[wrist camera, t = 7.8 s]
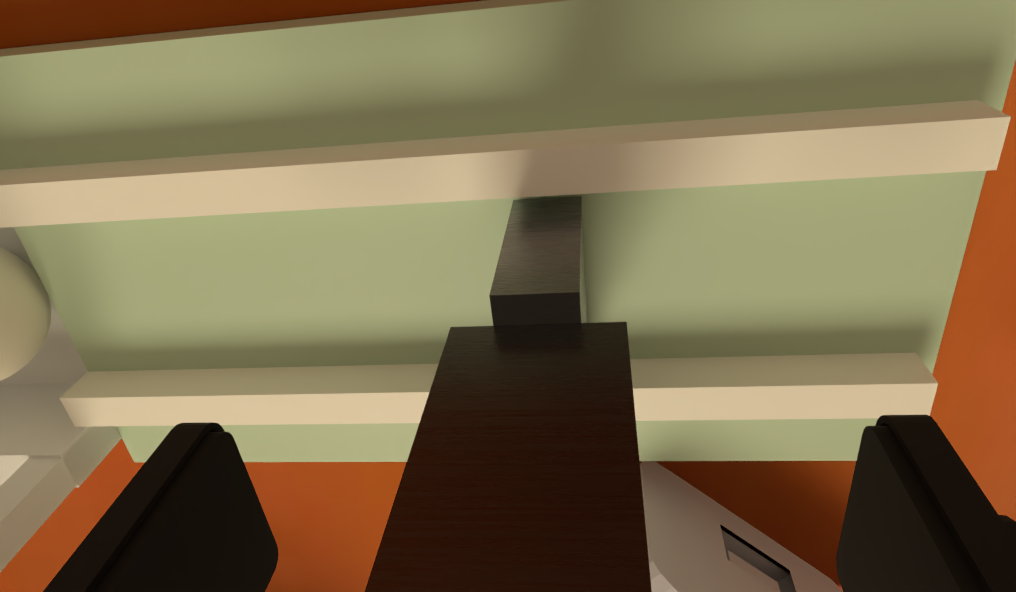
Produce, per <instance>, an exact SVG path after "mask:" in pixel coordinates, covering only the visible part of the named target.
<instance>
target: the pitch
mask: <svg viewBox="0 0 1016 592" xmlns="http://www.w3.org/2000/svg"><path fill="white" fill-rule="evenodd" d="M1015 60H1016V0H484V1H474V2H465V3H455V4H445V5H435V6H425V7H415V8H405V9H395V10H385V11H375V12H365V13H355V14H345V15H335V16H325V17H315V18H305V19H295V20H285V21H275V22H265V23H255V24H245V25H235V26H225V27H215V28H205V29H196V30H186V31H176V32H166V33H156V34H146V35H136V36H126V37H116V38H106V39H96V40H86V41H76V42H66V43H56V44H46V45H36V46H26V47H16V48H6V49H0V228H3V227H14V229H15V231H16V233H17V235H18V236H19V238H20V240H21V242H22V244H23V246H24V248H25V250H26V252H27V254H28V256H29V258H30V260H31V262H32V264H33V266H34V268H35V270H36V272H37V273H38V275H39V277H40V279H41V281H42V283H43V285H44V287H45V289H46V291H47V293H48V295H49V297H50V299H51V301H52V303H53V305H54V307H55V309H56V311H57V312H58V314H59V316H60V318H61V320H62V322H63V324H64V326H65V328H66V330H67V332H68V334H69V336H70V338H71V340H72V342H73V344H74V346H75V348H76V349H77V351H78V353H79V355H80V357H81V359H82V361H83V363H84V365H85V367H86V369H87V371H88V372H87V373H86V374H85V375H84V376H83V377H82V378H81V379H80V380H78V381H77V382H76V383H75V384H74V385H73V386H72V387H71V388H70V389H69V390H68V391H67V392H66V393H65V394H63V395H62V396H61V397H60V398H59V399H60V400H61V402H62V404H63V406H64V408H65V409H66V411H67V413H68V415H69V417H70V419H71V420H72V422H73V424H74V426H75V427H93V426H116V427H117V429H118V431H119V433H120V435H121V437H122V439H123V441H124V443H125V445H126V447H127V449H128V451H129V453H130V455H131V457H132V459H133V460H134V462H146V461H147V460H148V458H149V457H150V456H151V455H152V453H153V452H154V451H155V450H156V448H157V447H158V446H159V445H160V443H161V442H162V441H163V440H164V438H165V437H166V436H167V435H168V433H169V432H170V431H171V429H173V428H174V427H175V426H176V425H177V424H180V423H209V422H213V423H218V424H219V425H221V426H222V428H223V429H224V431H225V432H229V433H230V434H232V436H233V438H234V440H235V442H236V445H237V447H238V450H239V452H240V455H241V457H242V460H243V462H407V460H408V457H409V454H410V451H411V448H412V445H413V441H414V438H415V435H416V432H417V429H418V426H419V423H420V420H421V417H422V414H423V411H424V408H425V404H426V401H427V398H428V395H429V392H430V389H431V386H432V383H433V380H434V377H435V374H436V371H437V367H438V364H439V361H440V358H441V355H442V352H443V349H444V346H445V343H446V340H447V337H448V333H449V330H450V327H470V326H493V319H492V312H491V304H490V297H489V295H490V291H491V287H492V283H493V279H494V275H495V271H496V267H497V263H498V259H499V255H500V251H501V247H502V243H503V239H504V235H505V231H506V227H507V223H508V219H509V215H510V211H511V207H512V203H513V200H519V199H536V198H553V197H571V196H582V214H583V233H584V253H585V273H586V293H587V312H588V323H599V322H627V332H628V343H629V353H630V364H631V375H632V386H633V396H634V407H635V418H636V429H637V439H638V450H639V461H857V457H858V452H859V447H860V442H861V438H862V433H863V430H864V428H865V427H866V426H875V425H876V422H877V420H878V418H879V417H880V416H882V415H928V416H929V415H930V412H931V408H932V404H933V401H934V397H935V393H936V390H937V386H938V382H937V381H936V380H935V378H934V377H933V376H932V373H933V370H934V366H935V362H936V358H937V355H938V351H939V347H940V343H941V339H942V336H943V332H944V328H945V324H946V321H947V317H948V313H949V309H950V305H951V302H952V298H953V294H954V290H955V287H956V283H957V279H958V275H959V271H960V268H961V264H962V260H963V256H964V253H965V249H966V245H967V241H968V237H969V234H970V230H971V226H972V222H973V219H974V215H975V211H976V207H977V203H978V200H979V196H980V192H981V188H982V185H983V181H984V177H985V173H986V171H987V170H997V166H998V162H999V159H1000V155H1001V151H1002V148H1003V144H1004V140H1005V137H1006V133H1007V129H1008V126H1009V122H1010V118H1011V116H1009V115H1007V114H1005V113H1003V112H1002V109H1003V105H1004V101H1005V98H1006V94H1007V90H1008V86H1009V83H1010V79H1011V75H1012V71H1013V67H1014V64H1015Z"/></svg>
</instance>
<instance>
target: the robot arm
mask: <svg viewBox="0 0 1016 592" xmlns="http://www.w3.org/2000/svg"><path fill="white" fill-rule="evenodd" d="M277 561H278V548H277V544H276V541H275V539H274V536H273V534H272V532H271V529H270V527H269V524H268V522H267V519H266V517H265V514H264V512H263V509H262V507H261V504H260V502H259V499H258V497H257V494H256V492H255V489H254V487H253V484H252V482H251V480H250V477H249V475H248V472H247V470H246V467H245V465H244V462H243V460H242V457H241V455H240V452H239V450H238V447H237V445H236V442H235V440H234V438H233V436H232V434H230V433H229V432H225V431H224V429H223V428H222V426H221V425H219V424H218V423H213V422H209V423H180V424H177V425H176V426H175V427H174V428H173V429H171V431H170V432H169V433H168V435H167V436H166V437H165V438H164V440H163V441H162V442H161V443H160V445H159V446H158V447H157V448H156V450H155V451H154V452H153V453H152V455H151V456H150V457H149V458H148V460H147V461H146V462H145V464H144V465H143V466H142V467H141V469H140V470H139V471H138V472H137V474H136V475H135V476H134V477H133V479H132V480H131V481H130V482H129V484H128V485H127V486H126V488H125V489H124V490H123V491H122V493H121V494H120V495H119V496H118V498H117V499H116V500H115V501H114V503H113V504H112V505H111V506H110V508H109V509H108V510H107V512H106V513H105V514H104V515H103V517H102V518H101V519H100V520H99V522H98V523H97V524H96V525H95V527H94V528H93V529H92V530H91V532H90V533H89V534H88V535H87V537H86V538H85V539H84V541H83V542H82V543H81V544H80V546H79V547H78V548H77V549H76V551H75V552H74V553H73V554H72V556H71V557H70V558H69V559H68V561H67V562H66V563H65V565H64V566H63V567H62V568H61V570H60V571H59V572H58V573H57V575H56V576H55V577H54V578H53V580H52V581H51V582H50V583H49V585H48V586H47V587H46V589H45V590H44V591H43V592H265V590H266V588H267V586H268V584H269V582H270V580H271V577H272V575H273V573H274V571H275V568H276V565H277ZM836 562H837V572H838V577H839V580H840V584H841V586H842V589H843V592H1016V522H1015V521H1014V520H1012V519H1011V518H1009V517H1007V516H1004V515H998V514H997V512H996V511H995V509H994V508H993V506H992V505H991V503H990V502H989V500H988V499H987V498H986V496H985V495H984V493H983V492H982V490H981V489H980V487H979V486H978V484H977V483H976V481H975V480H974V478H973V477H972V475H971V474H970V472H969V471H968V469H967V468H966V466H965V465H964V463H963V462H962V460H961V459H960V457H959V456H958V454H957V453H956V451H955V450H954V448H953V447H952V445H951V444H950V442H949V441H948V439H947V438H946V437H945V435H944V434H943V432H942V431H941V429H940V428H939V426H938V425H937V423H936V422H935V421H934V420H933V418H932V417H930V416H928V415H882V416H880V417H879V418H878V420H877V422H876V425H875V426H866V427H865V428H864V430H863V433H862V438H861V442H860V447H859V452H858V457H857V461H856V466H855V471H854V475H853V480H852V485H851V490H850V494H849V499H848V504H847V509H846V513H845V518H844V523H843V527H842V532H841V537H840V542H839V546H838V551H837V558H836Z"/></svg>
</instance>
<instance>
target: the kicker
mask: <svg viewBox="0 0 1016 592" xmlns="http://www.w3.org/2000/svg"><path fill="white" fill-rule="evenodd" d="M489 297H490V304H491V312H492V319H493V326H470V327H450V330H449V333H448V337H447V340H446V343H445V346H444V349H443V352H442V355H441V358H440V361H439V364H438V367H437V371H436V374H435V377H434V380H433V383H432V386H431V389H430V392H429V395H428V398H427V401H426V404H425V408H424V411H423V414H422V417H421V420H420V423H419V426H418V429H417V432H416V435H415V438H414V441H413V445H412V448H411V451H410V454H409V457H408V460H407V463H406V466H405V469H404V472H403V475H402V478H401V482H400V485H399V488H398V491H397V494H396V497H395V500H394V503H393V506H392V509H391V512H390V515H389V519H388V522H387V525H386V528H385V531H384V534H383V537H382V540H381V543H380V546H379V549H378V552H377V556H376V559H375V562H374V565H373V568H372V571H371V574H370V577H369V580H368V583H367V586H366V590H365V592H652V590H651V579H650V568H649V558H648V547H647V536H646V525H645V515H644V504H643V493H642V482H641V472H640V461H639V450H638V439H637V429H636V418H635V407H634V396H633V386H632V375H631V364H630V353H629V343H628V332H627V322H599V323H588V312H587V293H586V273H585V253H584V233H583V214H582V196H571V197H553V198H536V199H519V200H513V203H512V207H511V211H510V215H509V219H508V223H507V227H506V231H505V235H504V239H503V243H502V247H501V251H500V255H499V259H498V263H497V267H496V271H495V275H494V279H493V283H492V287H491V291H490V295H489Z"/></svg>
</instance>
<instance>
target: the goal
mask: <svg viewBox="0 0 1016 592" xmlns="http://www.w3.org/2000/svg"><path fill="white" fill-rule="evenodd" d="M0 247H2V248H4V249H6V250H8V251H10V252H11V253H13V254H15V255H17V256H18V257H19V258H21V259H22V260H23V261H25V262H26V263H27V264H28V265H29V266H30V267H31V268H32V269H33V270H34V271H35V272H36V270H35V268H34V266H33V264H32V262H31V260H30V258H29V256H28V254H27V252H26V250H25V248H24V246H23V244H22V242H21V240H20V238H19V236H18V235H17V233H16V231H15V229H14V227H3V228H0ZM36 273H37V272H36ZM37 275H38V273H37ZM38 276H39V275H38ZM49 299H50V297H49ZM50 305H51V324H50V328H49V331H48V334H47V337H46V339H45V341H44V343H43V345H42V347H41V348H40V350H39V351H38V352H37V354H36V355H35V356H34V357H33V359H32V360H31V361H29V362H28V363H27V364H26V365H25V366H24V367H23V368H22V369H20V370H19V371H17V372H16V373H14V374H13V375H11V376H10V377H8V378H6V379H4V380H2V381H0V572H1V571H2V570H3V569H4V568H5V566H6V565H7V564H8V563H9V562H10V561H11V560H12V558H13V557H14V556H15V555H16V554H17V553H18V552H19V550H20V549H21V548H22V547H23V546H24V545H25V544H26V543H27V541H28V540H29V539H30V538H31V537H32V536H33V535H34V533H35V532H36V531H37V530H38V529H39V528H40V527H41V525H42V524H43V523H44V522H45V521H46V520H47V519H48V517H49V516H50V515H51V514H52V513H53V512H54V511H55V510H56V508H57V507H58V506H59V505H60V504H61V503H62V502H63V500H64V499H65V498H66V497H67V496H68V495H69V494H70V492H71V491H72V490H73V489H74V488H75V487H80V485H81V484H82V483H83V482H84V481H85V480H86V479H87V477H88V476H89V475H90V474H91V473H92V472H93V470H94V469H95V468H96V467H97V466H98V465H99V464H100V462H101V461H102V460H103V459H104V458H105V457H106V456H107V454H108V453H109V452H110V451H111V450H112V449H113V448H114V446H115V445H116V444H117V443H118V442H119V441H120V440H121V438H122V437H121V435H120V433H119V431H118V429H117V427H116V426H93V427H75V426H74V424H73V422H72V420H71V419H70V417H69V415H68V413H67V411H66V409H65V408H64V406H63V404H62V402H61V400H60V399H59V398H60V397H61V396H62V395H63V394H65V393H66V392H67V391H68V390H69V389H70V388H71V387H72V386H73V385H74V384H75V383H76V382H77V381H78V380H80V379H81V378H82V377H83V376H84V375H85V374H86V373H87V372H88V371H87V369H86V367H85V365H84V363H83V361H82V359H81V357H80V355H79V353H78V351H77V349H76V348H75V346H74V344H73V342H72V340H71V338H70V336H69V334H68V332H67V330H66V328H65V326H64V324H63V322H62V320H61V318H60V316H59V314H58V312H57V311H56V309H55V307H54V305H53V303H52V301H51V299H50Z"/></svg>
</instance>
